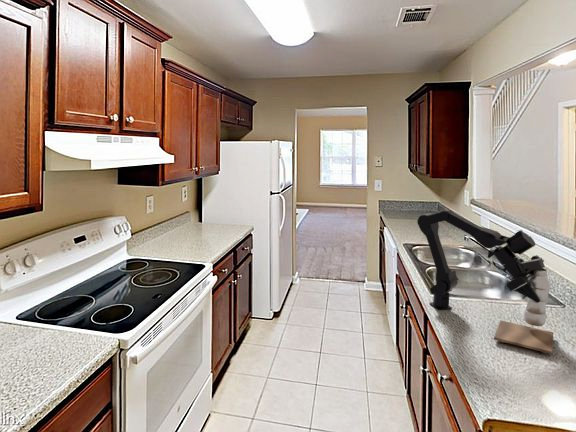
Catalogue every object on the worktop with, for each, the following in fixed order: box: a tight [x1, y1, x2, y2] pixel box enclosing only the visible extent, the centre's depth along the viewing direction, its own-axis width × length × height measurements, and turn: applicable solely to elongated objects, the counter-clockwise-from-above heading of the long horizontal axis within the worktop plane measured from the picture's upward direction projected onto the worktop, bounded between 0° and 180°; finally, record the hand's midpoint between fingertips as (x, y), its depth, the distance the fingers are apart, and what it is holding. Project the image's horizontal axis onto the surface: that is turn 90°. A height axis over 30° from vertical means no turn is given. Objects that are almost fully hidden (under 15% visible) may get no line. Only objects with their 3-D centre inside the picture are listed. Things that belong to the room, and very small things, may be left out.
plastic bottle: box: [523, 268, 551, 327], centre depth 130 cm, size 6×7×20 cm
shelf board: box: [493, 320, 554, 355], centre depth 128 cm, size 16×16×2 cm
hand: (541, 299), depth 129 cm, fingers closed on plastic bottle, 6 cm apart
